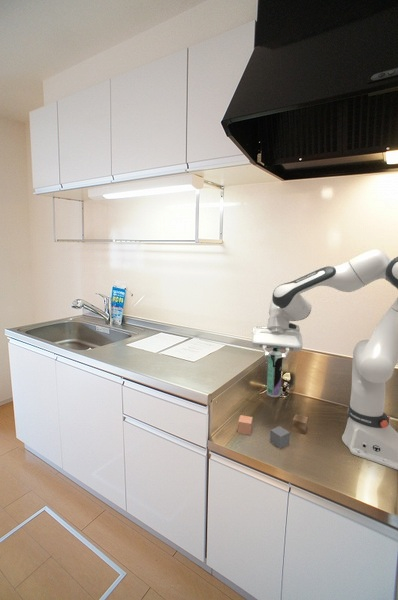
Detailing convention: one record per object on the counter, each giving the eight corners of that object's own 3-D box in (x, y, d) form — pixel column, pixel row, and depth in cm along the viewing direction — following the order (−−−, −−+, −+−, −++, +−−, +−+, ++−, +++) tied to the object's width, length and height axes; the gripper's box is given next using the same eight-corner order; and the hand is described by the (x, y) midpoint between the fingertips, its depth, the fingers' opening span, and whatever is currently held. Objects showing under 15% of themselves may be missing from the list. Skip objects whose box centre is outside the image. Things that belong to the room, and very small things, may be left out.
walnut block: (307, 428, 124) (308, 417, 123) (304, 434, 119) (305, 423, 119) (294, 425, 126) (295, 414, 125) (292, 430, 122) (292, 419, 121)
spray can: (280, 397, 119) (283, 350, 116) (266, 396, 120) (268, 348, 117) (280, 391, 124) (282, 345, 121) (266, 389, 126) (268, 344, 122)
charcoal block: (289, 444, 113) (289, 432, 113) (280, 449, 111) (280, 436, 110) (278, 437, 117) (279, 425, 117) (269, 442, 115) (270, 430, 114)
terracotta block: (252, 428, 123) (252, 417, 123) (250, 435, 119) (251, 423, 118) (239, 426, 125) (240, 415, 124) (238, 432, 120) (238, 421, 119)
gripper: (252, 322, 127) (248, 351, 120) (303, 326, 121) (302, 357, 114) (253, 329, 132) (249, 358, 125) (302, 334, 126) (301, 364, 118)
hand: (275, 357), depth 119 cm, fingers closed on spray can, 5 cm apart
